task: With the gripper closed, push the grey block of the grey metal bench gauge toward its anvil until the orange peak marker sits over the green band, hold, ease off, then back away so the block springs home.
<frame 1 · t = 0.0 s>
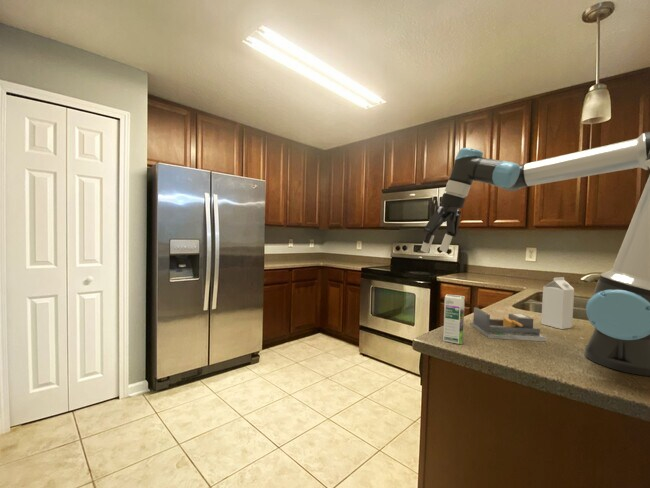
hand: (433, 251, 107), 28 cm above the worktop, tool tilted 20°, fingers open, 13 cm apart
peak marker: (513, 325, 101), point 3 cm above the worktop, slide at 0.0 cm
milk carton: (556, 326, 113), on the worktop
gauge bed: (505, 332, 104), on the worktop
syrup box: (453, 341, 94), on the worktop
grey block: (520, 322, 103), point 4 cm above the worktop, slide at 0.0 cm
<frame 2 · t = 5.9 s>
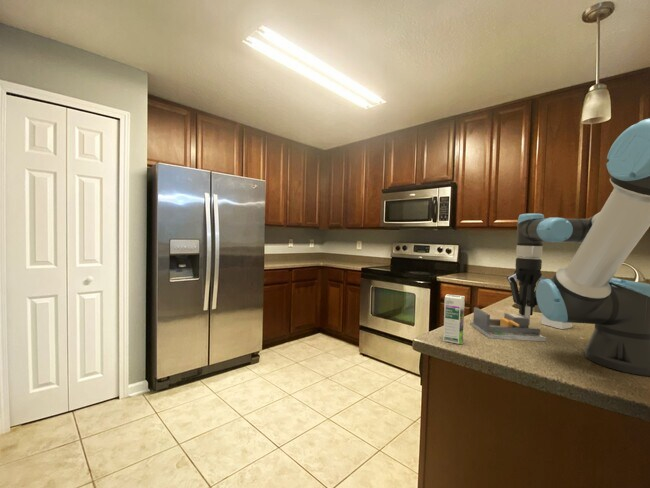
hand: (525, 324, 103), 3 cm above the worktop, tool pointing down, fingers closed
peak marker: (509, 325, 101), point 3 cm above the worktop, slide at 1.1 cm, touching grey block
grey block: (516, 321, 103), point 4 cm above the worktop, slide at 1.5 cm, touching gripper, peak marker
everything else where it was.
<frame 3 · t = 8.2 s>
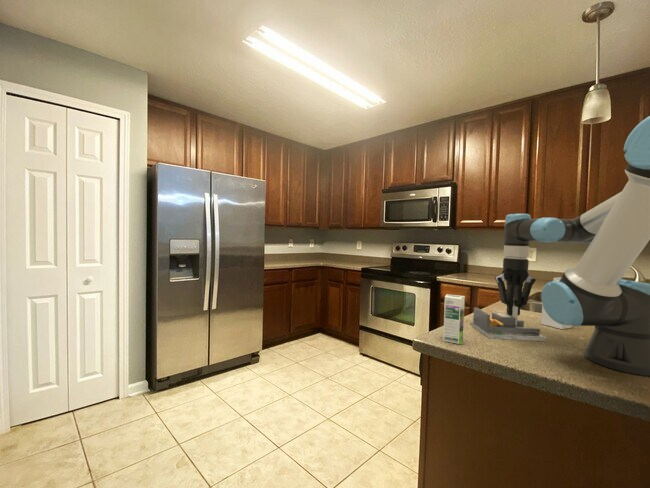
hand: (512, 324, 103), 3 cm above the worktop, tool pointing down, fingers closed
peak marker: (494, 324, 102), point 3 cm above the worktop, slide at 6.2 cm
grey block: (503, 321, 104), point 4 cm above the worktop, slide at 5.8 cm, touching gripper
everything else where it was.
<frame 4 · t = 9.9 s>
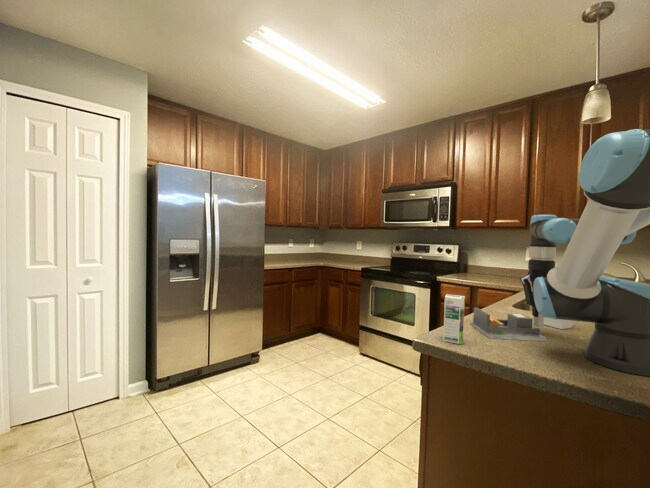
hand: (538, 326, 102), 3 cm above the worktop, tool pointing down, fingers closed
grey block: (519, 322, 103), point 4 cm above the worktop, slide at 0.3 cm
everything else where it was.
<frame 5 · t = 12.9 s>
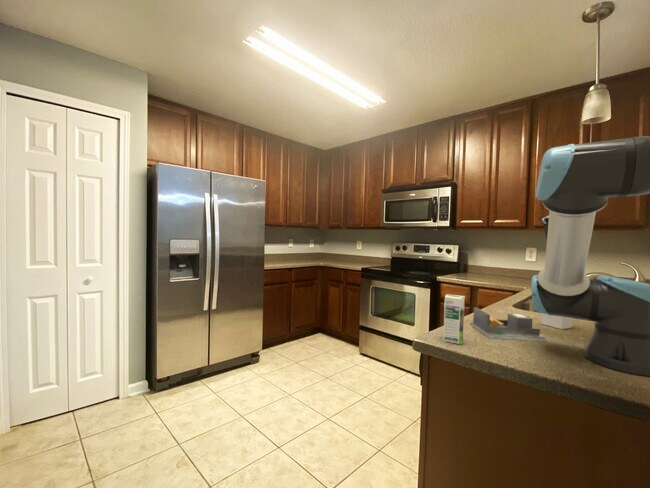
hand: (559, 265, 103), 24 cm above the worktop, tool pointing down, fingers closed
nothing on the worktop moved.
at the end: peak marker slide at 6.2 cm; grey block slide at 0.3 cm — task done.
